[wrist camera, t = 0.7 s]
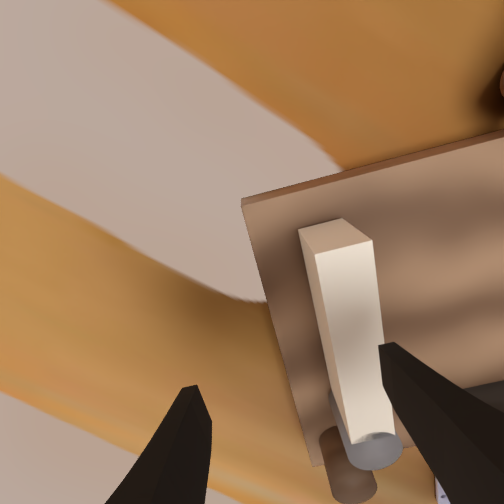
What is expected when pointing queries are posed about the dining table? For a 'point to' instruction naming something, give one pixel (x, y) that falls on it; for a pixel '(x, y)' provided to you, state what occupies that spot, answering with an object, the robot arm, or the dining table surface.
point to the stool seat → (394, 278)
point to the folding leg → (351, 339)
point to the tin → (502, 84)
